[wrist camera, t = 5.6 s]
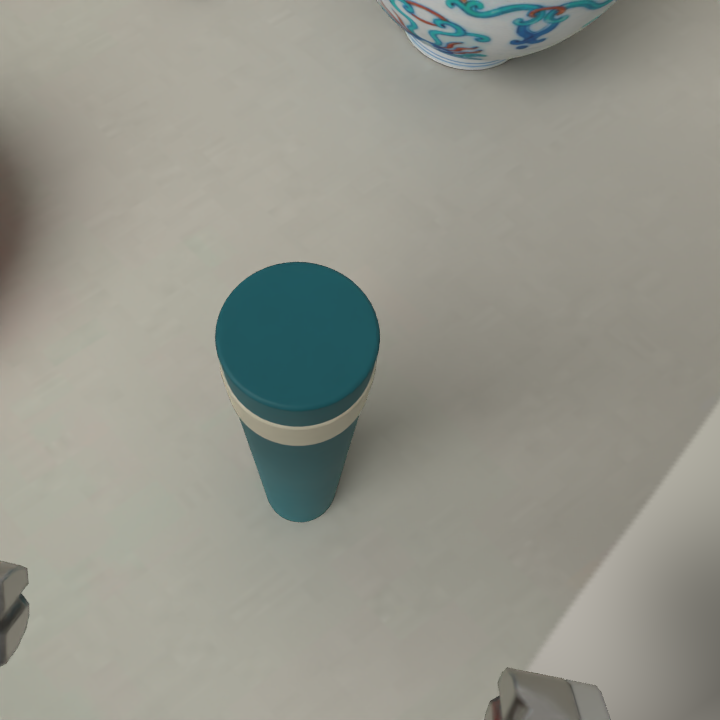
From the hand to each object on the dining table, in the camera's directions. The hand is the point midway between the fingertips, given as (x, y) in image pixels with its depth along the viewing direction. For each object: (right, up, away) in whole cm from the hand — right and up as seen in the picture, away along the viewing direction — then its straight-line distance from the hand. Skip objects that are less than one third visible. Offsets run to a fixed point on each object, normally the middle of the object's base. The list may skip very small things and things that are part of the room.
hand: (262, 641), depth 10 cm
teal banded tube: (-1, 0, +12) cm, 12 cm away
